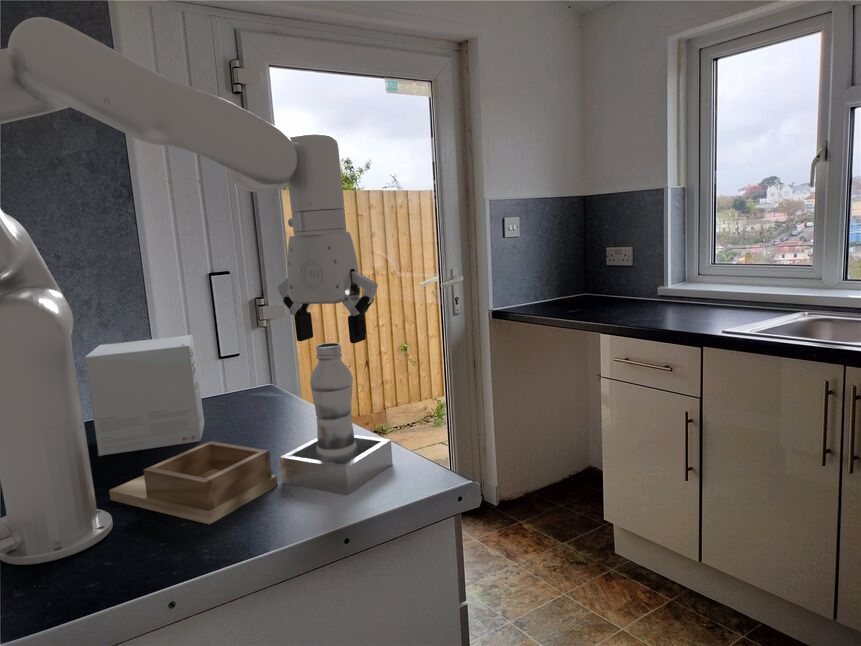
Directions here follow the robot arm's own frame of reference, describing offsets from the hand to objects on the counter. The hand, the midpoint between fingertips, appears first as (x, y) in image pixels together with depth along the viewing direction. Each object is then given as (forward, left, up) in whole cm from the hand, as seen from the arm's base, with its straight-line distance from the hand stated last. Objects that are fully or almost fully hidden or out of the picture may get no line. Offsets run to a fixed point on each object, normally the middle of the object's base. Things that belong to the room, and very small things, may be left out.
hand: (331, 340), depth 92 cm
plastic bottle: (0, 0, -21) cm, 21 cm away
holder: (0, 0, -21) cm, 21 cm away
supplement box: (+1, +44, -21) cm, 49 cm away
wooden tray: (-14, +16, -21) cm, 30 cm away
